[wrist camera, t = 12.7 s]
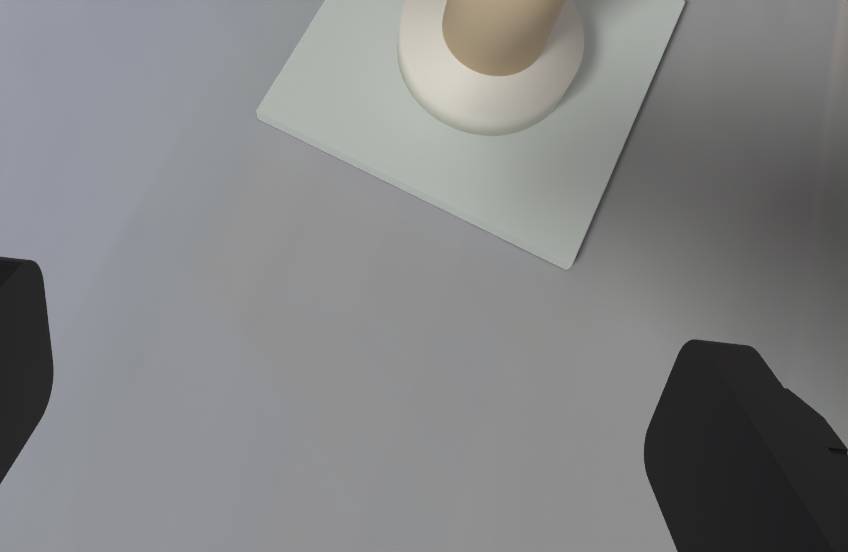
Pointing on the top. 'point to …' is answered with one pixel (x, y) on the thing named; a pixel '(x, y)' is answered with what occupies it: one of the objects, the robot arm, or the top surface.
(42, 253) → the top surface
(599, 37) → the mat
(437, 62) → the stool
